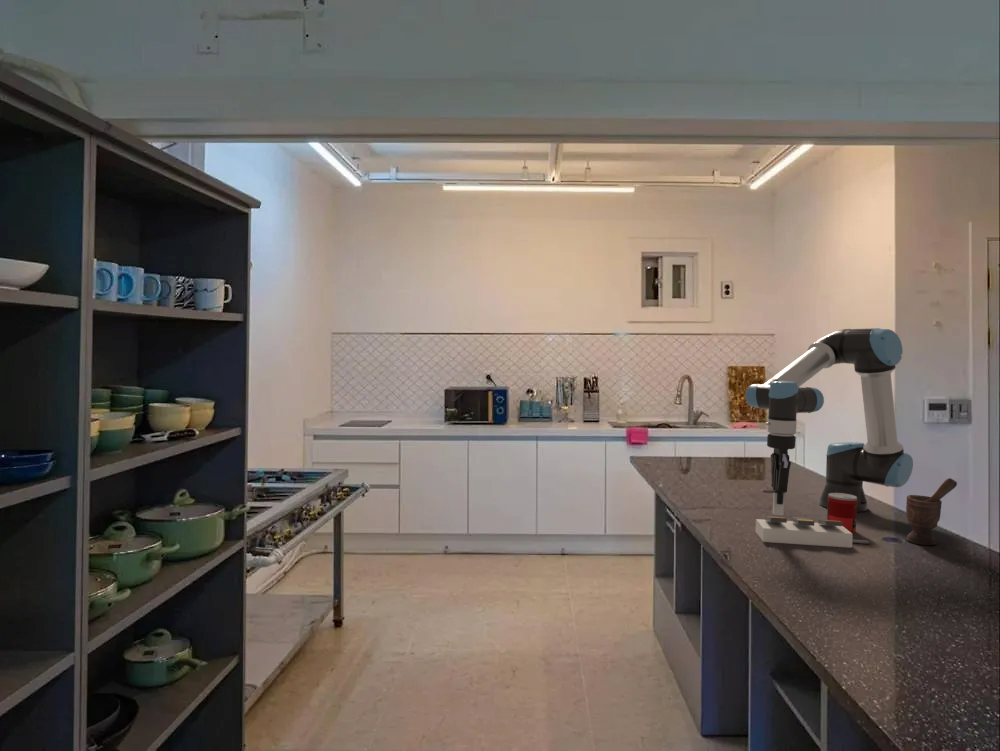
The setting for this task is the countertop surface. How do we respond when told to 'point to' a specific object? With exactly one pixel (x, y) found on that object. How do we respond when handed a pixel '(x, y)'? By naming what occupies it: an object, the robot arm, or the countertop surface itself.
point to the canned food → (843, 509)
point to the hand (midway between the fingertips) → (778, 514)
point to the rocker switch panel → (805, 534)
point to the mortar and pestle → (926, 513)
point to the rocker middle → (802, 521)
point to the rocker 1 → (776, 519)
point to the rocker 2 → (830, 522)
